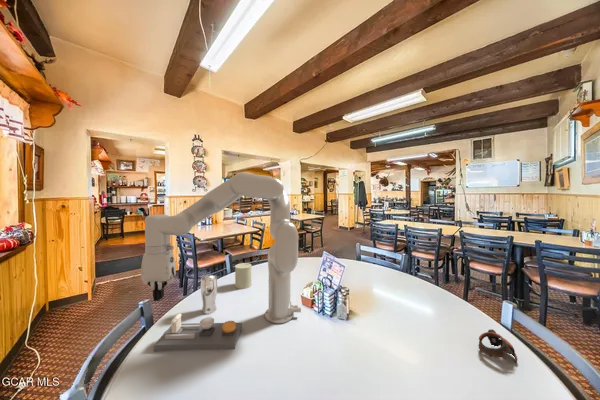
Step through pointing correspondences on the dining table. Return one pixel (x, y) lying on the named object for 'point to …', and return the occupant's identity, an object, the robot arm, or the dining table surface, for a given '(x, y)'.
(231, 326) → the orange button
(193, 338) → the panel
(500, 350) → the brown looped piece
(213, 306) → the tall white cup
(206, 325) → the white rounded thick disc
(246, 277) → the can
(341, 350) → the dining table surface
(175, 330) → the lever
